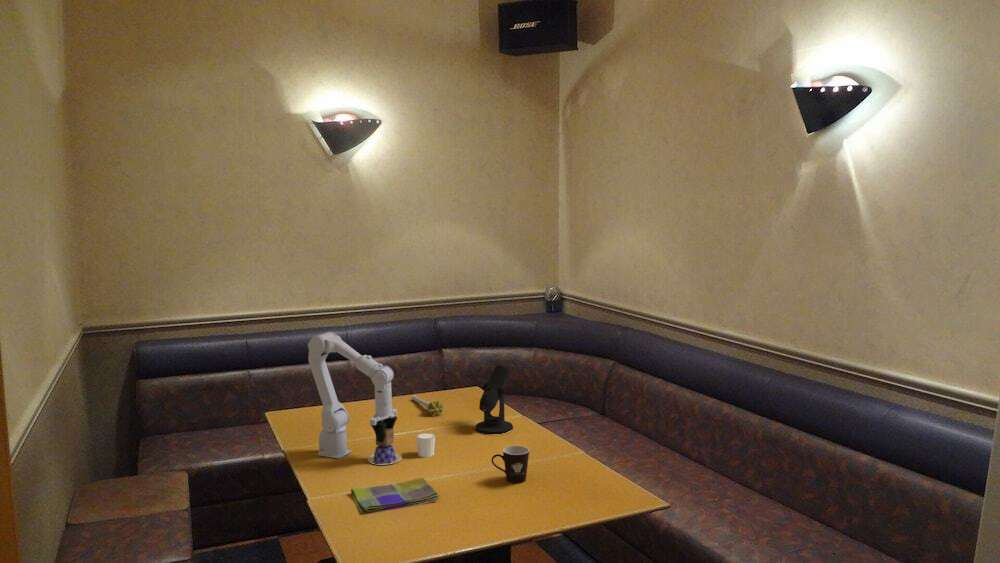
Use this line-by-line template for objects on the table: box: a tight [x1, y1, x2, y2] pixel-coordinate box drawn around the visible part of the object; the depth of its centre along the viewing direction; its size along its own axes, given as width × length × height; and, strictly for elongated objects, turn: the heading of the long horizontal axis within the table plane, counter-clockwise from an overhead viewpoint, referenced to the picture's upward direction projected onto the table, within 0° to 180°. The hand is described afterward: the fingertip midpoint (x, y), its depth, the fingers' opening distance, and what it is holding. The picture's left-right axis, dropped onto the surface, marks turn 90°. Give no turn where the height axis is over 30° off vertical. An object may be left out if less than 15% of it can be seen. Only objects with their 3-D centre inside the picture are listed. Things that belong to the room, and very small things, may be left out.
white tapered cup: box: [415, 432, 436, 458], centre depth 261 cm, size 7×7×7 cm
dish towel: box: [350, 477, 440, 515], centre depth 224 cm, size 18×24×3 cm
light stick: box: [411, 394, 444, 418], centre depth 317 cm, size 7×6×30 cm
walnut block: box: [375, 428, 395, 446], centre depth 255 cm, size 4×4×5 cm
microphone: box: [475, 364, 514, 435], centre depth 288 cm, size 15×17×25 cm
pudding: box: [367, 444, 403, 466], centre depth 256 cm, size 12×12×5 cm
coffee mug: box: [491, 445, 530, 484], centre depth 238 cm, size 12×9×10 cm
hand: (384, 439), depth 255 cm, fingers closed on walnut block, 4 cm apart
